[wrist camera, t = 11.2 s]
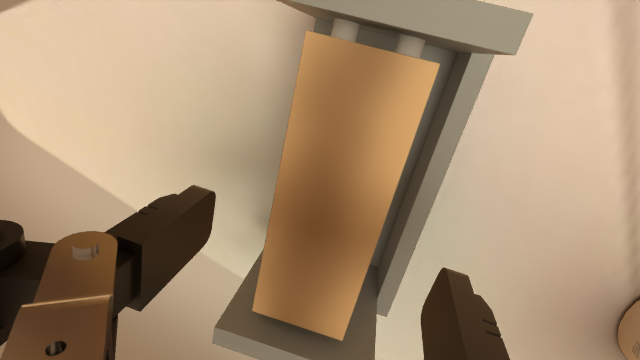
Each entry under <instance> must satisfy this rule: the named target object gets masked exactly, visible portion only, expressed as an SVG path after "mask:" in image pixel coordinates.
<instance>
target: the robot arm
mask: <svg viewBox="0 0 640 360" xmlns="http://www.w3.org/2000/svg"><path fill="white" fill-rule="evenodd" d="M215 199H216V195H215V192H213V191H211V190H208V189H204V188H201V187H198V186H195V185H192V186H190V187H189V188H188V189H186V190H185V191H183V192H182V193H180V194H179V195H177V194H171V195H167V196H164V197H160V198H158V199H157V200H155V201H153V202H152V203H150V204H149V205H148V206H147V207H146V206H145V207H144V208H142V209H141V210H139V212H138V213H137V212H136V213H135V214H133V215H131V216H130V217H128V218H127V219H125V220H123V221H122V222H120V223H119V224H117V225H115V226H114V227H112V228H111V229H109V230H108V231H106V232H97V231H87V232H79V233H75V234H72V235H69V236H66V237H64V238H62V239H61V240H59V241H58V242H57V243H55V244H53V243H44V242H33V241H25V238H24V231H23V228H22V226H21V225H19V224H17V223H15V222H12V221H6V220H0V346H1V345H2V344H3V343H5V342H6V341H7V343H6V345H5V348H4V351H3V353H2V356H1V359H0V360H115V352H116V340H117V327H118V313H119V312H120V311H122V309H124V308H125V307H129V308H132V309H135V310H137V311H141V310H142V309H143V308H144V307H145V306H146V305H147V304H148V303H149V302H150V301H151V300H152V299H153V298H154V297H155V296H156V295H157V294H158V293H159V292H160V291H161V290H162V289H163V288H164V287H165V286H166V285H167V283H169V282H170V280H171V279H172V278H173V277H174V276H175V275H176V274H177V273H178V272H179V271H180V270H181V269H182V268H183V267H184V266H185V265H186V264H187V263H188V262H189V261H190V260H191V259H192V258H193V257H194V256H195V255H196V254H197V253H198V252H199V251H200V250H201V249H202V248H203V246H204V245H205V244H206V242H207V241H208V239H209V236H210V234H211V230H212V223H213V215H214V207H215ZM496 325H497V323H496V320H495V318H494V315H493V312H492V310H491V309H490V307H489V306H488V305H487V303H486V302H485V301H484V300H483V298H482V297H481V296H479V295H476V294H474V292H473V289H472V286H471V283H470V280H469V277H468V276H467V275H465V274H462V273H459V272H456V271H453V270H450V269H447V268H442V269H441V271H440V272H439V274H438V276H437V278H436V280H435V282H434V284H433V286H432V288H431V290H430V292H429V294H428V296H427V299H426V301H425V303H424V305H423V309H422V313H421V329H422V340H423V351H424V360H510V358H509V356H508V353H507V350H506V348H505V345H504V342H503V339H502V338H501V334H500V331H499V329H498V327H497V326H496ZM618 343H619V346H620V348H621V351H622V352H623V354H624V355H625V356H626V358H627V359H628V360H640V300H638V301H637V302H636V303H635V304H634V305H633V306H632V307H631V308H630V309H629V310H628V311H627V312H626V314H625V315H624V317H623V318H622V320H621V322H620V325H619V329H618Z"/></svg>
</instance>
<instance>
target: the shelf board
mask: <svg viewBox="0 0 640 360" xmlns="http://www.w3.org/2000/svg"><path fill="white" fill-rule="evenodd" d="M439 66H440V64H439V63H435V62H432V61H428V60H424V59H420V58H416V57H412V56H408V55H404V54H400V53H396V52H392V51H388V50H384V49H380V48H376V47H372V46H368V45H364V44H360V43H356V42H352V41H348V40H344V39H340V38H336V37H332V36H328V35H324V34H319V33H315V32H311V31H306V34H305V39H304V44H303V49H302V55H301V60H300V65H299V70H298V75H297V80H296V86H295V91H294V96H293V101H292V106H291V112H290V117H289V122H288V127H287V132H286V137H285V143H284V148H283V153H282V158H281V163H280V169H279V174H278V179H277V184H276V189H275V194H274V200H273V205H272V210H271V215H270V220H269V226H268V231H267V236H266V241H265V246H264V251H263V257H262V262H261V267H260V272H259V277H258V283H257V288H256V293H255V298H254V303H253V309H252V311H254V312H257V313H260V314H263V315H266V316H269V317H272V318H275V319H278V320H281V321H284V322H287V323H290V324H293V325H296V326H299V327H302V328H305V329H308V330H311V331H314V332H317V333H320V334H323V335H326V336H329V337H332V338H335V339H338V340H341V341H342V340H343V338H344V335H345V332H346V329H347V326H348V323H349V321H350V318H351V315H352V312H353V309H354V307H355V304H356V301H357V298H358V295H359V292H360V290H361V287H362V284H363V281H364V278H365V275H366V273H367V270H368V267H369V264H370V261H371V258H372V256H373V253H374V250H375V247H376V244H377V241H378V239H379V236H380V233H381V230H382V227H383V224H384V222H385V219H386V216H387V213H388V210H389V207H390V205H391V202H392V199H393V196H394V193H395V191H396V188H397V185H398V182H399V179H400V176H401V174H402V171H403V168H404V165H405V162H406V159H407V157H408V154H409V151H410V148H411V145H412V142H413V140H414V137H415V134H416V131H417V128H418V125H419V123H420V120H421V117H422V114H423V111H424V108H425V106H426V103H427V100H428V97H429V94H430V92H431V89H432V86H433V83H434V80H435V77H436V75H437V72H438V69H439Z"/></svg>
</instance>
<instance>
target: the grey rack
mask: <svg viewBox="0 0 640 360" xmlns="http://www.w3.org/2000/svg"><path fill="white" fill-rule="evenodd" d="M277 1H279V2H282V3H284V4H286V5H288V6H291V7H293V8H295V9H298V10H300V11H302V12H304V13H307V14H309V15H311V16H314V17H316V22H315V27H314V32H315V33H319V34H324V35H328V36H332V37H336V38H340V39H344V40H348V41H352V42H356V43H360V44H364V45H368V46H372V47H376V48H380V49H384V50H388V51H392V52H396V53H400V54H404V55H408V56H412V57H416V58H420V59H424V60H428V61H432V62H435V63H439V64H440V66H439V69H438V72H437V75H436V77H435V80H434V83H433V86H432V89H431V92H430V94H429V97H428V100H427V103H426V106H425V108H424V111H423V114H422V117H421V120H420V123H419V125H418V128H417V131H416V134H415V137H414V140H413V142H412V145H411V148H410V151H409V154H408V157H407V159H406V162H405V165H404V168H403V171H402V174H401V176H400V179H399V182H398V185H397V188H396V191H395V193H394V196H393V199H392V202H391V205H390V207H389V210H388V213H387V216H386V219H385V222H384V224H383V227H382V230H381V233H380V236H379V239H378V241H377V244H376V247H375V250H374V253H373V256H372V258H371V261H370V264H369V267H368V270H367V273H366V275H365V278H364V281H363V284H362V287H361V290H360V292H359V295H358V298H357V301H356V304H355V307H354V309H353V312H352V315H351V318H350V321H349V323H348V326H347V329H346V332H345V335H344V338H343V340H342V341H341V340H338V339H335V338H332V337H329V336H326V335H323V334H320V333H317V332H314V331H311V330H308V329H305V328H302V327H299V326H296V325H293V324H290V323H287V322H284V321H281V320H278V319H275V318H272V317H269V316H266V315H263V314H260V313H257V312H254V311H252V309H253V303H254V298H255V293H256V288H257V283H258V277H259V272H260V267H261V262H262V257H263V251H264V249H263V251H262V252H261V254H260V255H259V257H258V259H257V260H256V262H255V263H254V265H253V267H252V268H251V270H250V271H249V273H248V275H247V276H246V278H245V279H244V281H243V283H242V284H241V286H240V287H239V289H238V291H237V292H236V294H235V295H234V297H233V299H232V300H231V302H230V303H229V305H228V306H227V308H226V310H225V311H224V313H223V314H222V316H221V318H220V319H219V321H218V322H217V324H216V326H215V328H214V335H213V344H216V345H219V346H222V347H225V348H228V349H231V350H233V351H236V352H239V353H242V354H245V355H248V356H251V357H254V358H257V359H259V360H374V358H375V337H376V315H377V314H379V315H382V316H385V317H387V315H388V312H389V310H390V307H391V305H392V302H393V300H394V298H395V295H396V293H397V290H398V288H399V285H400V283H401V281H402V278H403V276H404V273H405V271H406V268H407V266H408V264H409V261H410V259H411V256H412V254H413V251H414V249H415V247H416V244H417V242H418V239H419V237H420V234H421V232H422V230H423V227H424V225H425V222H426V220H427V217H428V215H429V213H430V210H431V208H432V205H433V203H434V200H435V198H436V196H437V193H438V191H439V188H440V186H441V183H442V181H443V179H444V176H445V174H446V171H447V169H448V166H449V164H450V162H451V159H452V157H453V154H454V152H455V149H456V147H457V145H458V142H459V140H460V137H461V135H462V132H463V130H464V128H465V125H466V123H467V120H468V118H469V115H470V113H471V111H472V108H473V106H474V103H475V101H476V98H477V96H478V94H479V91H480V89H481V86H482V84H483V81H484V79H485V77H486V74H487V72H488V69H489V67H490V64H491V62H492V60H493V57H494V55H495V54H498V55H516V53H517V51H518V48H519V46H520V44H521V41H522V39H523V37H524V35H525V32H526V30H527V28H528V25H529V23H530V21H531V19H532V16H533V13H528V12H524V11H520V10H515V9H511V8H507V7H502V6H498V5H494V4H489V3H485V2H481V1H476V0H277Z"/></svg>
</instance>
